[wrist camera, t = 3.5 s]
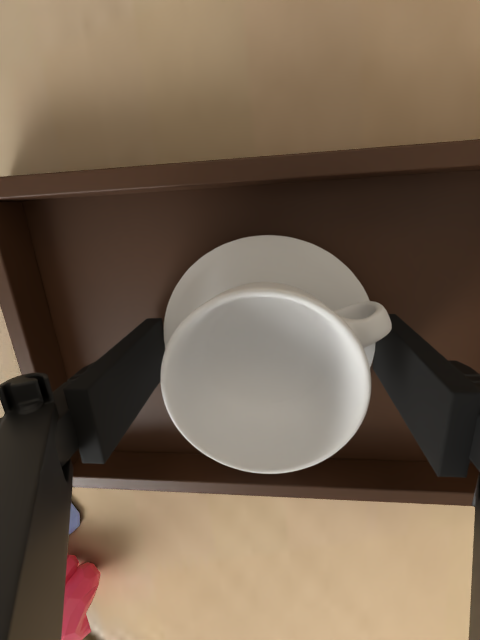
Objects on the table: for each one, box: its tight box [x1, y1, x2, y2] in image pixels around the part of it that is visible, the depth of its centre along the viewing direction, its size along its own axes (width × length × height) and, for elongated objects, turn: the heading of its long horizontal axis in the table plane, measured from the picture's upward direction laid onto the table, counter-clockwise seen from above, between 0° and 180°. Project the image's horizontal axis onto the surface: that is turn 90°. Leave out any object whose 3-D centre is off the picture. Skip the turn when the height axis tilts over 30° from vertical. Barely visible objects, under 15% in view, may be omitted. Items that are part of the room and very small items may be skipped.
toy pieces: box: [61, 503, 100, 640], centre depth 21 cm, size 12×11×4 cm
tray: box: [0, 139, 480, 506], centre depth 15 cm, size 16×24×2 cm, turn 93°
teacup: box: [161, 235, 392, 474], centre depth 13 cm, size 10×10×5 cm
